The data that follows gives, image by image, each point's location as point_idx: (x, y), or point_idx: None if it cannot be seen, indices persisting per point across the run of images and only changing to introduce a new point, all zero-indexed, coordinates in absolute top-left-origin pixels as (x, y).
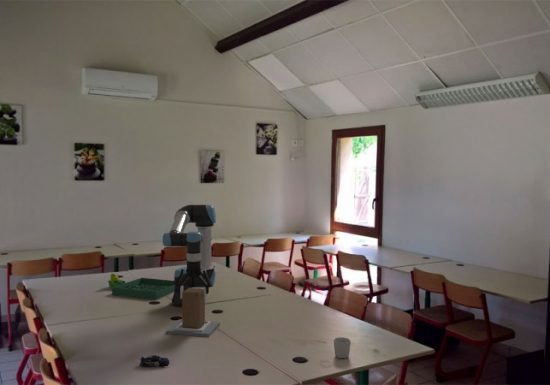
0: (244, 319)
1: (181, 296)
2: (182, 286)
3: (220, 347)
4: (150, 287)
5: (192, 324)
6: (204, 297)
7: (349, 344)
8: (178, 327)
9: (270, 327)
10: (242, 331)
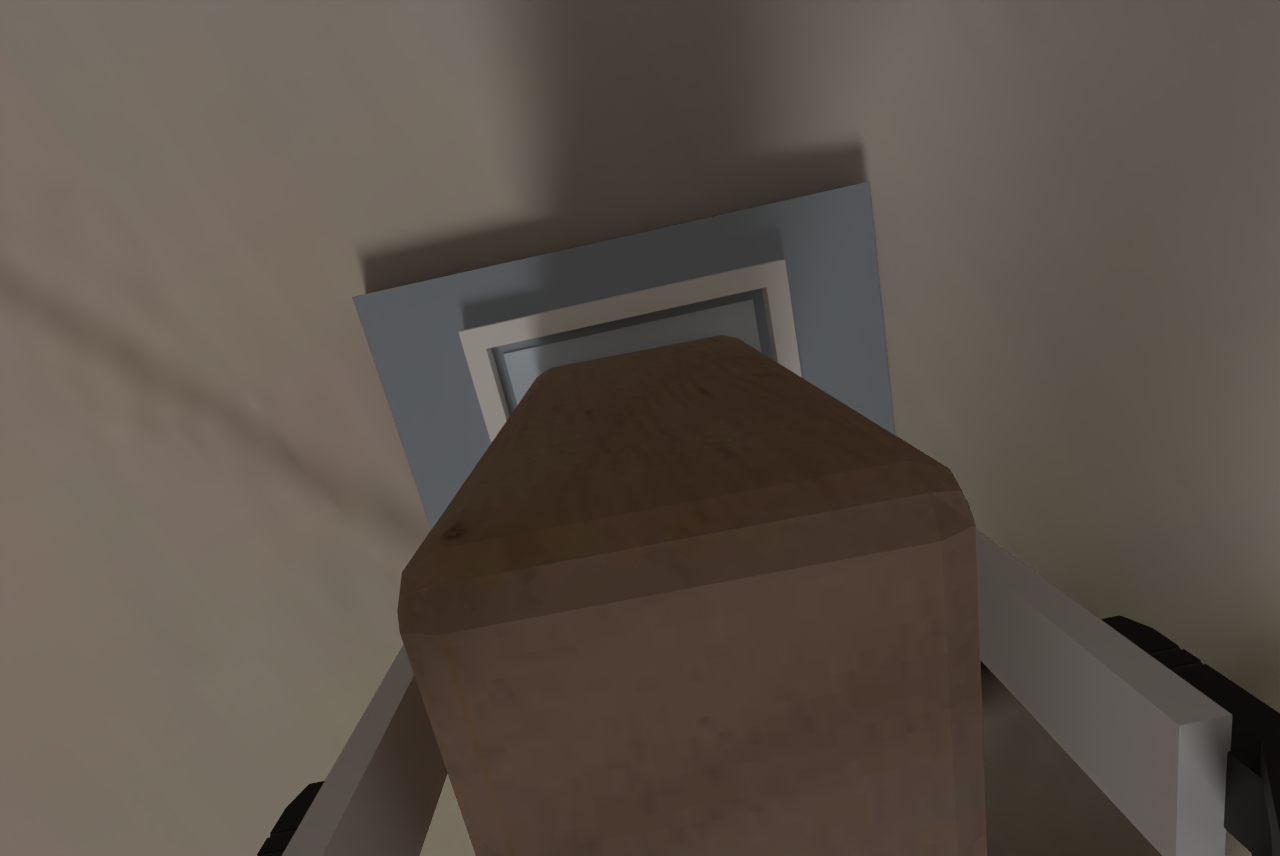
0: None
1: None
2: (1176, 799)
3: (30, 21)
4: None
5: (610, 362)
6: (409, 677)
7: None
8: (768, 301)
9: (8, 759)
10: (164, 568)
